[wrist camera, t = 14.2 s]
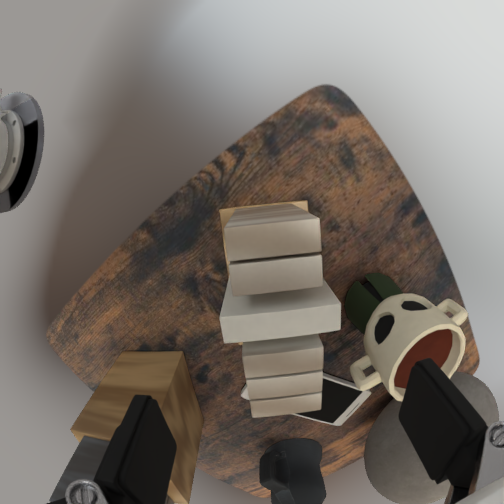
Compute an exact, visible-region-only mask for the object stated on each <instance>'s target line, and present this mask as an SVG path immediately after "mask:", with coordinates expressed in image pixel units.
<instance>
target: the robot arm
mask: <svg viewBox="0 0 504 504" xmlns="http://www.w3.org/2000/svg"><path fill="white" fill-rule="evenodd" d="M1 94H2V89H0V101H1ZM1 110H2V108H1V107H0V193H3V192H4V191H6V190H7V189H8V188H9V187H10V185H11V184H12V182H13V181H14V179H15V177H16V175H17V173H18V170H19V167H20V164H21V160H22V156H23V150H24V128H23V123H22V120H21V118H20V116H19V115H18V114H17V113H16V112H15V111H11V110H3V111H1ZM398 417H399V421H400V423H401V425H402V427H403V428H404V430H405V432H406V434H407V436H408V437H409V439H410V441H411V443H412V445H413V447H414V449H415V451H416V452H417V454H418V456H419V458H420V460H421V462H422V464H423V466H424V468H425V470H426V472H427V474H428V476H429V477H430V479H431V480H435V482H436V484H439V483H441V482H443V481H445V480H447V479H448V480H449V482H450V484H451V485H450V488H449V491H448V494H447V497H446V500H445V503H444V504H504V421H497V422H494V423H493V424H491V425H490V426H489V427H488V426H487V425H486V424H487V423H486V422H485V421H484V420H483V418H482V417H481V416H480V415H479V413H478V412H477V411H476V410H475V408H474V407H473V406H472V405H471V404H470V402H469V401H468V400H467V399H466V398H465V396H464V395H463V394H462V393H461V392H460V390H459V389H458V388H457V387H456V386H455V385H454V383H453V382H452V381H451V380H450V379H449V378H448V377H447V375H446V374H445V373H444V372H443V371H442V370H441V369H440V368H439V366H438V365H437V364H436V363H435V362H434V361H433V360H432V359H431V358H426V359H423V360H420V361H417V362H416V363H415V364H414V366H413V367H412V368H411V371H410V375H409V379H408V383H407V387H406V390H405V394H404V397H403V401H402V404H401V407H400V410H399V414H398ZM176 451H177V444H176V441H175V439H174V437H173V435H172V433H171V431H170V429H169V427H168V425H167V422H166V420H165V418H164V416H163V414H162V411H161V409H160V407H159V404H158V402H157V400H156V399H153V398H152V397H151V396H150V395H134V397H133V399H132V401H131V403H130V405H129V407H128V409H127V411H126V414H125V416H124V418H123V420H122V422H121V425H119V426H118V427H117V428H116V430H115V432H114V434H113V436H112V438H111V440H110V443H109V445H108V447H107V449H106V452H105V454H104V456H103V458H102V461H101V463H100V465H99V468H98V470H97V472H96V475H95V477H94V479H93V481H91V480H88V479H79V480H76V481H74V482H72V483H71V484H70V485H69V486H68V487H67V489H66V493H65V498H62V499H59V500H56V501H53V502H50V503H47V504H165V501H166V496H167V492H168V487H169V482H170V478H171V473H172V469H173V464H174V460H175V455H176Z"/></svg>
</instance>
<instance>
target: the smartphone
mask: <svg viewBox="0 0 504 504" xmlns="http://www.w3.org/2000/svg"><path fill="white" fill-rule="evenodd" d="M321 392H322V403H321V410H316V411H309V412H302V413H295V414H294V415H297V416H300V417H304V418H308V419H311V420H315V421H319V422H323V423H327V424H331V425H336V426H341V425H342V424H343V423H344V422H345V421H346V420H347V419H348V418H349V417H350V416H351V415H352V414H353V413H354V412H355V411H356V410H357V409H358V408H359V406H360V405H361V404H362V403H363V402H364V401H365V400H366V399H367V398H368V397H369V396H370V394H371V392H370V390H369V389H368V390H365V391H361V390H359V389H358V388H357V386H356V384H354V383H351V382H348V381H346V380H343V379H340V378H337V377H334V376H331V375H328V374H326V373H323V384H322V391H321ZM241 397H243V398H245V399H248V400H250V399H249V396H248V390H247V384H246V385H245V386H244V388H243V389H242V390H241Z"/></svg>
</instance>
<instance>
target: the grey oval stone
mask: <svg viewBox="0 0 504 504" xmlns="http://www.w3.org/2000/svg"><path fill="white" fill-rule="evenodd" d="M450 380H451V381H452V382H453V383H454V385H455V386H456V387H457V388H458V389H459V390H460V392H461V393H462V394H463V395H464V396H465V398H466V399H467V400H468V401H469V402H470V404H471V405H472V406H473V407H474V408H475V410H476V411H477V412H478V413H479V415H480V416H481V417H482V418H483V420H484V421H485V422H486V423H487V424H486V425H487V426H488V427H489V426H490V425H491V424H493V423H494V422H497V421H499V413H498V407H497V403H496V401H495V398H494V396H493V394H492V393H491V391H490V390H489V388H488V387H487V386H486V385H485V384H484V383H483V382H482V381H481V380H479V379H478V378H476V377H474V376H472V375H470V374H467V373H463V372H454V374H453V375H452V376H451V378H450ZM401 404H402V401H397V400H396V399H395V398H394V399H392V400H391V401H390V402H389V404H388V405H387V406H386V407H385V408H384V409H383V411H382V412H381V413H380V415H379V416H378V418H377V419H376V421H375V422H374V424H373V426H372V428H371V430H370V432H369V435H368V438H367V441H366V445H365V452H364V460H365V469H366V472H367V476H368V478H369V480H370V482H371V484H372V485H373V487H374V488H375V489H376V490H377V491H378V492H379V493H380V494H381V495H382V496H384V497H386V498H387V499H389V500H391V501H393V502H396V503H399V504H428V503H432V502H435V501H438V500H440V499H442V498H444V497H446V496H447V494H448V491H449V488H450V485H451V484H450V482H449V480H448V479H447V480H445V481H443V482H441V483H439V484H436V482H435V480H431V479H430V477H429V476H428V474H427V472H426V470H425V468H424V466H423V464H422V462H421V460H420V458H419V456H418V454H417V452H416V451H415V449H414V447H413V445H412V443H411V441H410V439H409V437H408V436H407V434H406V432H405V430H404V428H403V427H402V425H401V423H400V421H399V417H398V414H399V410H400V407H401Z"/></svg>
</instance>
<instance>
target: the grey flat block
mask: <svg viewBox="0 0 504 504" xmlns="http://www.w3.org/2000/svg"><path fill="white" fill-rule="evenodd" d="M220 323H221V329H222V335H223V340H224V343H236V342H248V341H259V340H269V339H278V338H287V337H295V336H303V335H310V334H317V333H324V332H331V331H337V330H340V329H341V303H340V301H339V300H338V298H337V297H336V296H335V294H334V293H333V291H332V290H331V288H330V287H329V286H328V284H327V283H326V281H325V280H324V279H323V287H315V288H307V289H299V290H290V291H282V292H273V293H263V294H254V295H243V296H233V294H232V287H231V280H230V276H229V280H228V284H227V288H226V292H225V296H224V301H223V305H222V309H221V313H220Z"/></svg>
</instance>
